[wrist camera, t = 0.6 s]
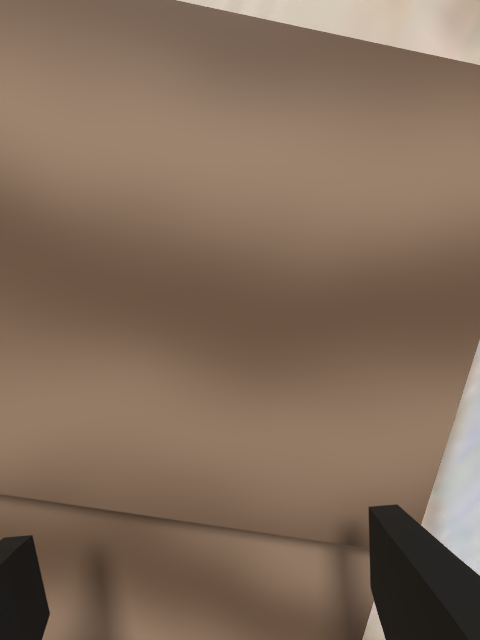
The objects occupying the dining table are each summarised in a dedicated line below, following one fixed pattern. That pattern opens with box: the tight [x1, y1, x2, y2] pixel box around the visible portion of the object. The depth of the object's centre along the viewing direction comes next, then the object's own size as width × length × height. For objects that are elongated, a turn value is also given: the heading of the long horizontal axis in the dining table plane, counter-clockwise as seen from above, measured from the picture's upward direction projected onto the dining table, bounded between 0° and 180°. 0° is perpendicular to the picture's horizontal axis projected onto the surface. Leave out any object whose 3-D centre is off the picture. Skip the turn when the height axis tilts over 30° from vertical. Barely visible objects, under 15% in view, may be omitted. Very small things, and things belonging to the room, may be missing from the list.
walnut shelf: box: [0, 0, 480, 640], centre depth 15 cm, size 20×13×7 cm
